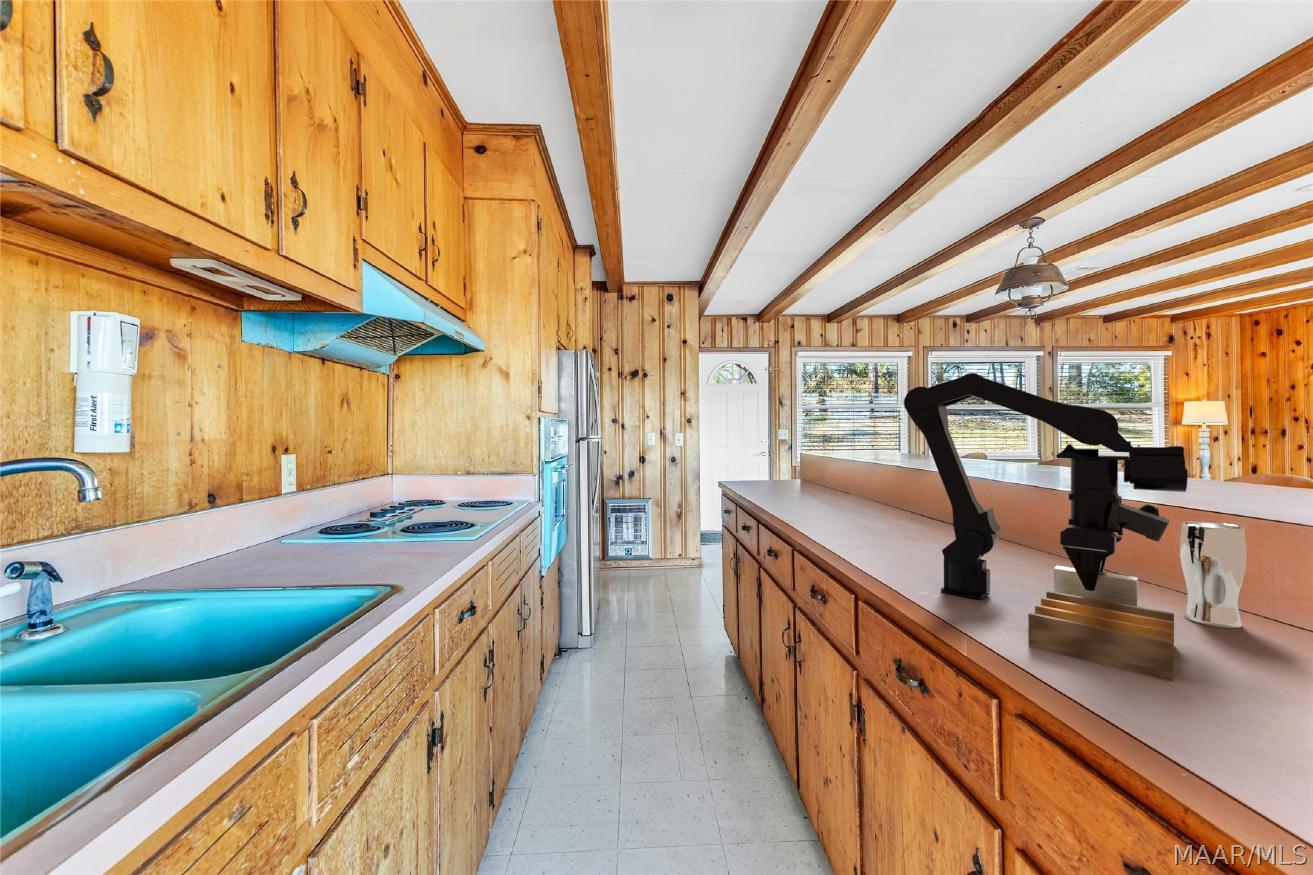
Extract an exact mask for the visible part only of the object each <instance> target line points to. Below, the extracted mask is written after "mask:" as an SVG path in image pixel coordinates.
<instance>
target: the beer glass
mask: <svg viewBox="0 0 1313 875" xmlns="http://www.w3.org/2000/svg"><path fill="white" fill-rule="evenodd" d="M1245 529H1246V528H1245V527H1243V526H1240V525H1235V524H1231V523H1229V524H1228V523H1222V522H1220V523H1219V522H1213V521H1212V522H1211V521H1200V520H1199V521H1196V520H1195V521H1194V520H1193V521H1187V520H1185V521H1183V522H1181V529H1180V540H1179V557H1180V563H1181V564H1180V565H1181V568H1182V573H1183V577H1184V582H1185V584H1186V590H1187V597H1186V598H1187V600H1186V605H1185V608H1184V612H1183V617H1184V618H1185V619H1188V620H1189V621H1191V622H1195V623H1197V624H1201V625H1204V626H1209V627H1215V628H1221V629H1239V628H1242V625H1243V624H1242V620H1241V617H1240V616H1241V615H1240V612H1239V605H1238V604H1239V603H1238V602H1239V595H1240V590H1241V587H1242V584H1243V580H1244V576H1245V573H1246V568H1247V567H1246V566H1247V555H1248V554H1247V552H1248V551H1247V540H1246V534H1245Z"/></svg>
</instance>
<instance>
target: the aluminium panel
mask: <svg viewBox="0 0 1313 875" xmlns="http://www.w3.org/2000/svg"><path fill="white" fill-rule="evenodd" d="M1138 578H1139V577H1137V576H1130V575H1129V576H1128V575H1123V574H1122V575H1121V574H1117V573H1111V572H1104V571H1103V572H1099V575H1098V579H1097V583H1096V587H1095V590H1094V591H1089V590H1085V588H1084V586H1083V584H1082V582H1081V580H1080V578H1079V576H1078V574H1077V572H1076V570H1075V568H1074V567H1069V566H1061V565H1055V566H1054V568H1053V592H1058V593H1063V594H1069V595H1075V596H1080V597H1086V598H1092V599H1097V600H1103V601H1109V602H1114V603H1120V604H1126V605H1131V606H1137V607H1139V605H1138V604H1139V602H1138V600H1139V596H1138V595H1139V594H1138V592H1139V590H1138V589H1139V587H1138V586H1139V585H1138V584H1139V581H1138V580H1139V579H1138Z"/></svg>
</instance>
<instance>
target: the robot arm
mask: <svg viewBox="0 0 1313 875" xmlns="http://www.w3.org/2000/svg"><path fill="white" fill-rule="evenodd" d="M973 397H976V398H978V399H981V400H984V401H986V402H989V403H992V404H995V405H998V406H1001V407H1003V408H1006V409H1008V410H1012V411H1013V412H1014V411H1015V412H1017V413H1020V414H1023V415H1025V416H1027V417H1030V418H1034V419H1035V420H1039V421H1041V422H1044V423H1046V424H1047V425H1049V426H1051V427H1053V429H1055V430H1058V431H1059V432H1061V433H1063V434H1065V435H1067V436H1068V437H1070V438H1072V439H1073V440H1076V441H1077V442H1079V443H1082V444H1083V445H1087V446H1100V445H1101V446H1103V447H1105V448H1107V449H1109V450H1110V451H1113V452H1114V453H1128V455H1103V454H1101V455H1100V454H1099V453H1100V452H1099V448H1076V447H1075V446H1073V445H1072V444H1071V443H1068V444H1067V445H1066V446H1065V448H1064V449H1063V450H1062V451H1060V452H1058V453H1057V454H1056V456H1055V457H1056V458H1057V459H1061V460H1062V459H1064V460H1065V459H1066V460H1067V459H1068V460H1069V459H1070V492H1069V493H1068V500H1069V501H1070V517H1069V518H1068V526H1067V527H1065V528H1064V529H1062V531H1060V533H1059V534H1060V536H1059V541H1060V542H1059V544H1060V545H1062V549H1063V550H1064V552H1065V553H1066V555H1067V557H1068V559H1069V560H1070V562H1071V564H1072V566H1073V567H1072V568H1075V570H1076V572H1077V574H1078V576H1079V578H1080V580H1081V582H1082V584H1083V586H1084V588H1085V590H1089V591H1094V590H1095V587H1096V583H1097V579H1098V575H1099V572H1104V568H1105V565H1106V561H1107V558H1109V557H1110V556H1112V555H1114V554H1115V552H1116V550H1117V543H1119V542H1121V541H1122V539H1123V536H1124V533H1125V530H1128V531H1130V532H1133V533H1136V534H1139V535H1142V536H1144V537H1145V538H1146V539H1148V540H1150V541H1153V542H1160V540H1161V539H1162V537H1163V534H1164V533H1165V531H1166V529H1167V527H1168V525H1169V524H1170V520H1169V518H1167V517H1165V516H1161V515H1160V510H1159V507H1158V506H1154V505H1151V504H1148V503H1145V504H1144V505H1142V506H1140V507H1138V508H1137V507H1135V506H1130V505H1127V504H1123V501H1122V499H1123V498H1122V495H1120V493H1119V482H1118V481H1119V475H1118V474H1119V461H1123V483H1129V484H1130V485H1132V489H1133V490H1138V491H1142V490H1143V491H1160V492H1177V493H1178V492H1179V493H1183V492H1184V493H1186V491H1187V488H1188V478H1189V477H1188V476H1189V475H1188V473H1189V472H1188V468H1186V458H1185V447H1183V446H1182V445H1167V446H1133V445H1132V442H1131V440H1127V439H1125V438H1124V436H1123V435H1121V433H1119V432H1118V431H1119V423H1118V421H1117V418H1116V417H1115V416H1114V415H1113V414H1111V412H1108V411H1107V410H1104V409H1099V408H1094V407H1087V406H1084V405H1083V406H1082V405H1078V404H1071V403H1065V402H1060V401H1055V400H1050V399H1047V398H1045V397H1042V396H1038V395H1036V394H1033V393H1030V392H1027V391H1024V390H1022V389H1018V388H1015V387H1012V386H1009V385H1007V384H1004V383H1000V382H998V381H994V380H992V379H989V378H985V377H984V376H983V375H981V374H978V373H975V372H974V373H973V372H968V373H965V374H963V376H960V377H957V378H955V379H951V380H948V381H944V382H941V383H938V384H935V385H932V386H929V387H927V386H917V387H914V388H911V389H910V390H909V391H908V392H907V393H906V395H905V397H904V398H903V405H904V409H905V411H906V412H907V414H908V415H909V417H910V419H911V420H912V422H913V423H914V425H915V426H916V427H917V428H918V429H919V431H920V432H921V433H922V434H923V436H924V438H925V441H926V444H927V446H928V448H929V451H930V453H931V457H932V458H933V461H934V465H935V467H936V468H937V469H936V470H937V472H938V474H939V478H940V479H941V481H942V484H943V487H944V490H945V493H946V495H947V498H948V500H949V503H950V505H951V510H952V512H951V513H952V524H953V531H954V536H955V539H954V540H953V541H952V542H950V543H949V544H947V545H946V546H945V547H944V548H943V549H941V552H942V556H943V587H941V588H940V592H941V593H946V594H951V595H955V596H961V597H965V598H971V599H973V600H974V599H976V600H982V599H983V598H984V597H985V596H987V595H988V594H989V593H991V570H990V569H989V568H987V563H988V562H987V559H982V558H983V557H984V556H985V555H987V554H988V553H990V551H992V550H993V548H995V546H996V545H997V543H998V541H999V537H1000V533H999V531H1000V530H1002V527H1001V526H1000V524H998V522H997V520H996V516H995V512H994V508H993V507H989V508H986V509H985V508H983V507H982V505H981V504H980V503H979V501H978V500H977V498H976V495H975V493H974V490H973V488H972V485H971V483H970V480H969V478H968V476H967V472H966V470H965V467H964V465H963V462H962V460H961V458H960V455H959V453H958V450H957V448H956V445H955V442H954V440H953V438H952V435H951V432H950V429H949V419H948V417H949V415H948V409H947V407H949V406H952V405H955V404H957V403H960V402H962V401H964V400H967V399H969V398H973ZM1116 533H1117V534H1116Z"/></svg>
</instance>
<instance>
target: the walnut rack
mask: <svg viewBox="0 0 1313 875" xmlns="http://www.w3.org/2000/svg"><path fill="white" fill-rule="evenodd" d="M1045 596H1046V597H1041V598H1040V604H1035V605H1034V613H1033V612H1029V613H1028V614H1027V616H1028V622H1027V623H1028V624H1027V625H1028V629H1027V630H1028V633H1027V634H1028V635H1027V636H1028V641H1027V643H1028V647H1030V648H1033V649H1039V650H1042V651H1046V652H1051V653H1055V654H1059V655H1063V656H1067V657H1070V658H1076V659H1080V660H1083V661H1088V662H1091V663H1096V664H1098V665H1099V664H1100V665H1104V666H1108V667H1112V668H1116V669H1120V670H1124V671H1128V672H1133V673H1137V674H1141V675H1145V676H1149V677H1152V678H1156V679H1157V678H1158V679H1162V680H1165V681H1169V682H1174V657H1175V656H1174V655H1175V612H1169V611H1166V610H1165V611H1164V610H1159V609H1153V608H1147V607H1142V606H1138V607H1137V606H1131V605H1126V604H1120V603H1114V602H1109V601H1103V600H1097V599H1092V598H1086V597H1080V596H1075V595H1069V594H1063V593H1058V592H1054V591H1053V590H1051V591H1050V590H1046V595H1045Z"/></svg>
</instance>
